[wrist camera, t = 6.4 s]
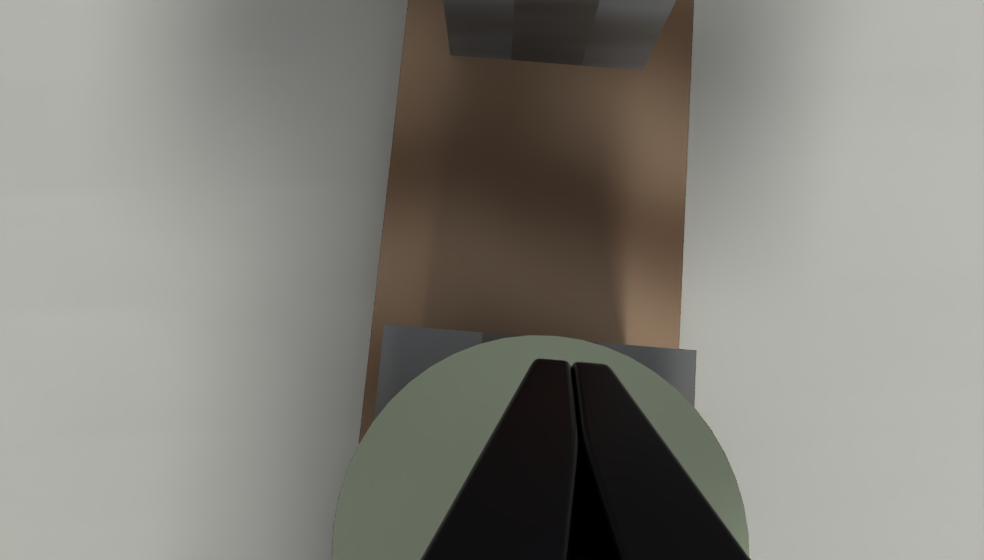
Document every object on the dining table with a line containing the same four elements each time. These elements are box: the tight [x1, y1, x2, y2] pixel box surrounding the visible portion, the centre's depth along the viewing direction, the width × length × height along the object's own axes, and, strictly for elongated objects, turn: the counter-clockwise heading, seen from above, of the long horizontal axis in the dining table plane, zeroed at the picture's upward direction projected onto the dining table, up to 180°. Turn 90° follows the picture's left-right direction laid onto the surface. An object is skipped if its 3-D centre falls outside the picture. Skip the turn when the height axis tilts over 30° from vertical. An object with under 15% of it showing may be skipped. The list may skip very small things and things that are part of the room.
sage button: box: [332, 335, 749, 560], centre depth 12 cm, size 6×6×5 cm
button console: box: [359, 0, 696, 444], centre depth 17 cm, size 21×9×8 cm, turn 175°
